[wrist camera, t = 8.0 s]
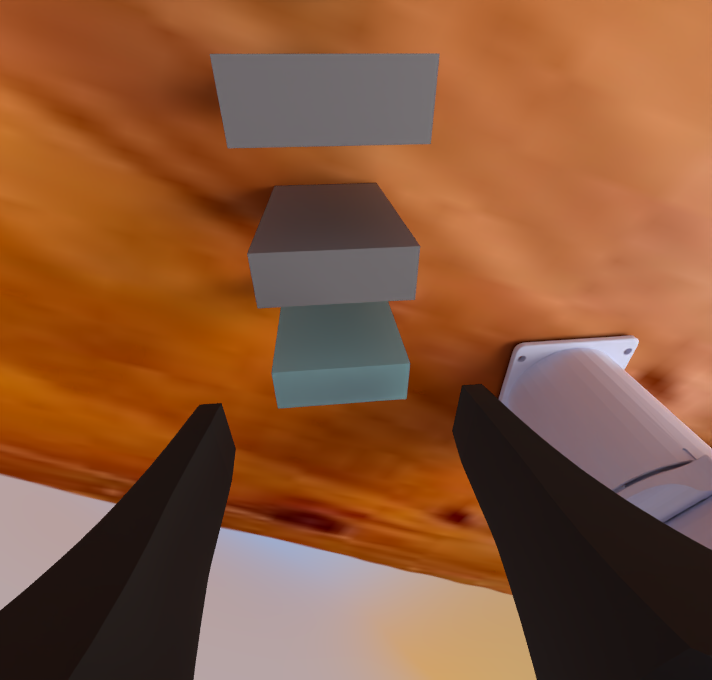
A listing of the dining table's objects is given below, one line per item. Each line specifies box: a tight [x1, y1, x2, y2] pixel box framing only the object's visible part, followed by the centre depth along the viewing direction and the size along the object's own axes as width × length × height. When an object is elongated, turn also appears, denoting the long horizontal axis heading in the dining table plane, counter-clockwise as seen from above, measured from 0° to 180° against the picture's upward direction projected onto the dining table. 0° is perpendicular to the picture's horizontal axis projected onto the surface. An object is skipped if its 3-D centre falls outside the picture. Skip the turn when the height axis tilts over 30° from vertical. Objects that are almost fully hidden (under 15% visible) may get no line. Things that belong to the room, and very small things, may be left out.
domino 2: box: [247, 183, 420, 308], centre depth 13 cm, size 2×4×8 cm, turn 90°
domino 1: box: [210, 54, 439, 148], centre depth 11 cm, size 2×4×8 cm, turn 90°
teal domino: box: [272, 301, 410, 408], centre depth 15 cm, size 2×4×8 cm, turn 90°
